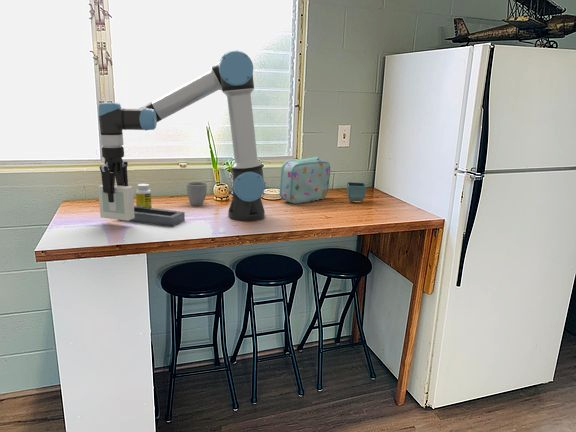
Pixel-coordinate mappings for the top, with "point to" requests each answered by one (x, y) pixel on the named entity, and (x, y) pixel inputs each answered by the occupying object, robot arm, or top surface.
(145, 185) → the pill bottle
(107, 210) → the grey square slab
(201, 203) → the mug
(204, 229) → the top surface
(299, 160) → the lunch box
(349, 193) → the flower pot
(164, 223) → the grey rectangular tray
